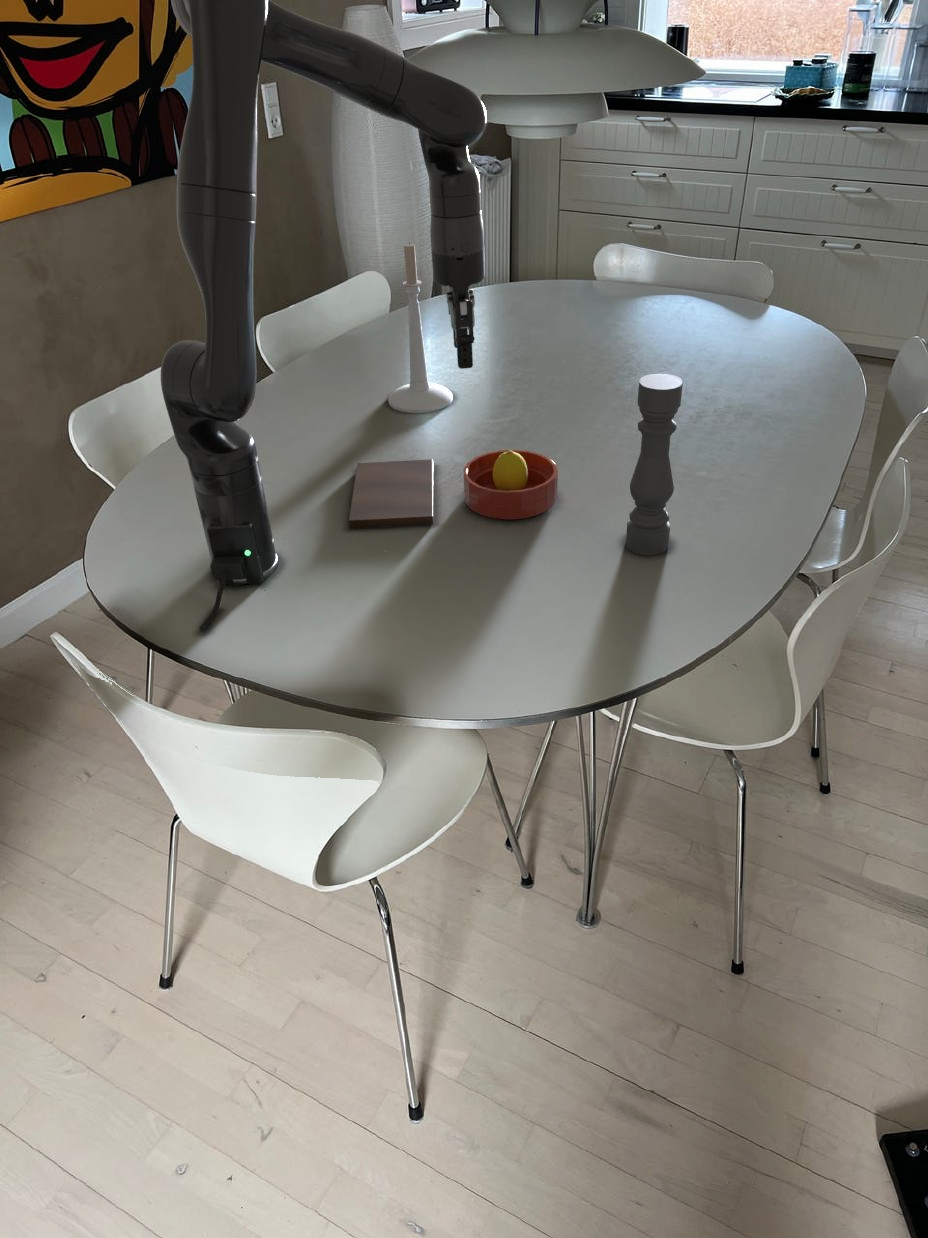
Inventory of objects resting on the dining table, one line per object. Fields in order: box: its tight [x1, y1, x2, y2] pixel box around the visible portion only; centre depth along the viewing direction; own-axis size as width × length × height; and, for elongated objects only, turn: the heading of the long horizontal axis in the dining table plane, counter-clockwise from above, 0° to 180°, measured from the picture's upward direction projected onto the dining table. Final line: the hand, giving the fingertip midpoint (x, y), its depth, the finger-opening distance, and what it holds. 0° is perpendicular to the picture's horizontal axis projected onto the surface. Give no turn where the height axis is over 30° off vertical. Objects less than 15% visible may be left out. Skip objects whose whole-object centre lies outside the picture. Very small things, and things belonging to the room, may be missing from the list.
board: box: [348, 458, 434, 530], centre depth 152 cm, size 20×13×2 cm, turn 2°
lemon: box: [493, 451, 528, 491], centre depth 147 cm, size 6×6×8 cm
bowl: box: [462, 449, 559, 520], centre depth 148 cm, size 15×15×5 cm
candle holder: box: [625, 373, 684, 556], centre depth 129 cm, size 6×6×25 cm
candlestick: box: [387, 241, 454, 414], centre depth 176 cm, size 13×13×30 cm
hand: (463, 357), depth 141 cm, fingers open, 8 cm apart
